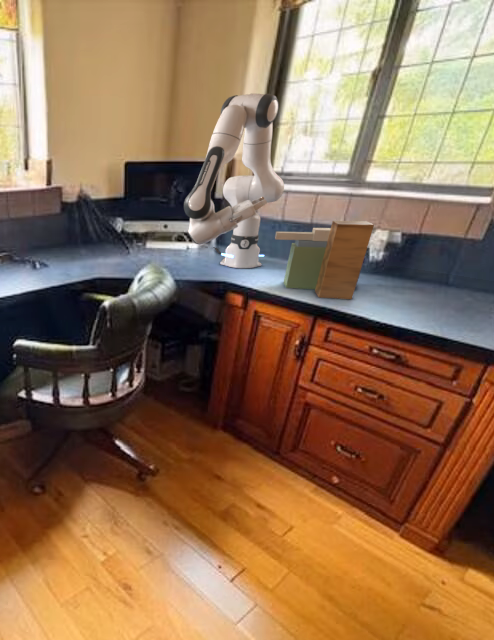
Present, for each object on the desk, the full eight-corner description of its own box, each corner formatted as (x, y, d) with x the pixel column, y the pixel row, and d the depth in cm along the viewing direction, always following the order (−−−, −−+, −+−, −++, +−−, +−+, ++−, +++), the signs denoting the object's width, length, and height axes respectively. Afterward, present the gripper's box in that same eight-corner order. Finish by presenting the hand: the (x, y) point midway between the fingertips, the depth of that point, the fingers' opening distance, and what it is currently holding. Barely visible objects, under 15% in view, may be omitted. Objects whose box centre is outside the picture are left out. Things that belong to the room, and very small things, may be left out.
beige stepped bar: (274, 237, 167) (276, 227, 165) (332, 239, 162) (334, 228, 160) (275, 239, 163) (278, 229, 161) (335, 241, 157) (337, 230, 155)
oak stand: (314, 291, 163) (332, 220, 151) (346, 293, 161) (367, 221, 148) (318, 297, 157) (337, 224, 144) (351, 299, 154) (374, 224, 141)
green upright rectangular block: (283, 282, 175) (293, 237, 166) (315, 284, 172) (326, 238, 163) (286, 287, 169) (296, 241, 160) (318, 289, 165) (331, 242, 157)
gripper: (226, 214, 156) (264, 194, 150) (226, 207, 174) (260, 189, 167) (233, 230, 158) (271, 210, 152) (232, 222, 175) (265, 204, 169)
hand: (265, 199), depth 160 cm, fingers open, 8 cm apart
